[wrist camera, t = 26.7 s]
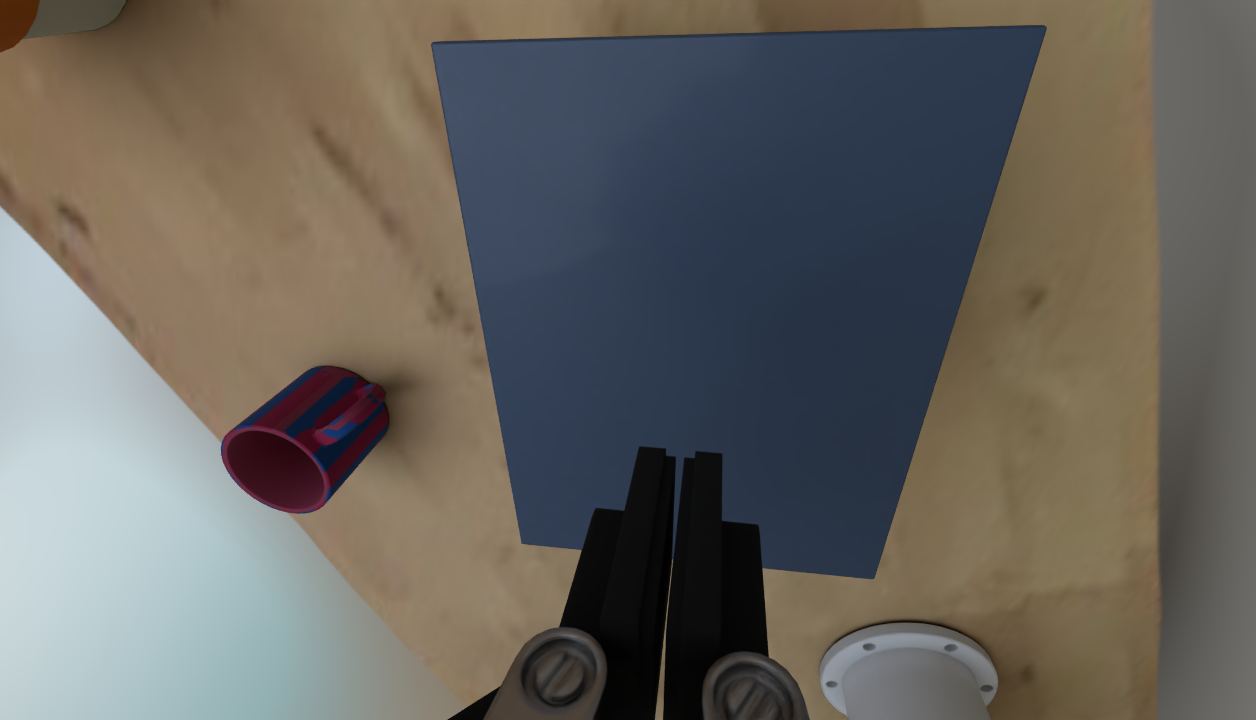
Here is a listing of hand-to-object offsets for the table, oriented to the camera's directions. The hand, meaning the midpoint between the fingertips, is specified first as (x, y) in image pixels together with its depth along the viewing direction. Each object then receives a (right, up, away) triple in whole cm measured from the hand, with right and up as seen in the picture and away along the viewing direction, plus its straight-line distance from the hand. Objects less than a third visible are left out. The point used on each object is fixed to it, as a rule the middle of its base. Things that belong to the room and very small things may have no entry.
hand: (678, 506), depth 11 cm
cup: (-19, 0, +27) cm, 33 cm away
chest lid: (+1, +3, +6) cm, 7 cm away
